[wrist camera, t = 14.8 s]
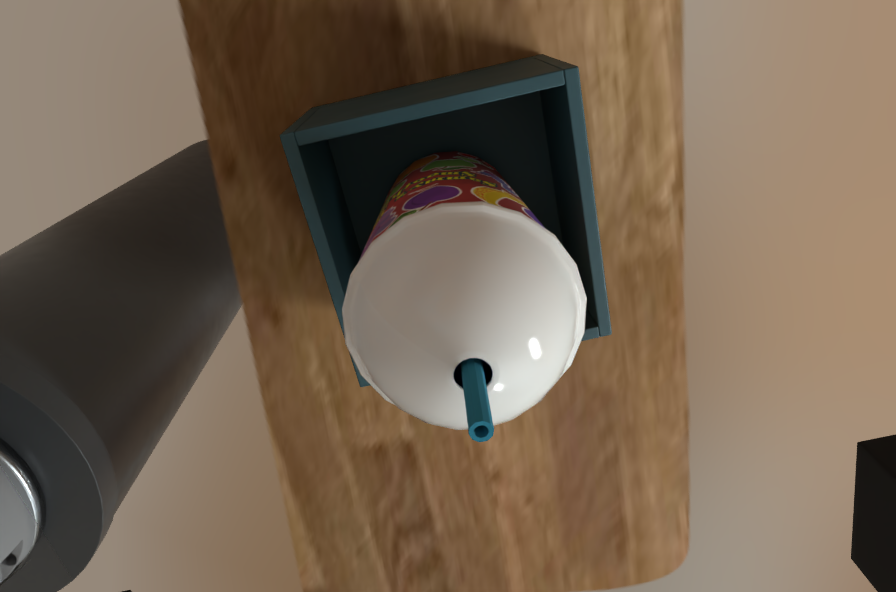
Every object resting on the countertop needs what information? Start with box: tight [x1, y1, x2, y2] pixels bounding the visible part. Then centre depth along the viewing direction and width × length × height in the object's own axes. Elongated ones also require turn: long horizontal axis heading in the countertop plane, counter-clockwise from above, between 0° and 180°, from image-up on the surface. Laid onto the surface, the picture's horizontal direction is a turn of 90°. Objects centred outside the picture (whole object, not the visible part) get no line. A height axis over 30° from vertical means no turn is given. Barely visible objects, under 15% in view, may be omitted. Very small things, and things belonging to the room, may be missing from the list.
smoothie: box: [342, 151, 587, 442], centre depth 25 cm, size 8×8×20 cm
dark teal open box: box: [280, 54, 612, 387], centre depth 32 cm, size 12×12×8 cm
